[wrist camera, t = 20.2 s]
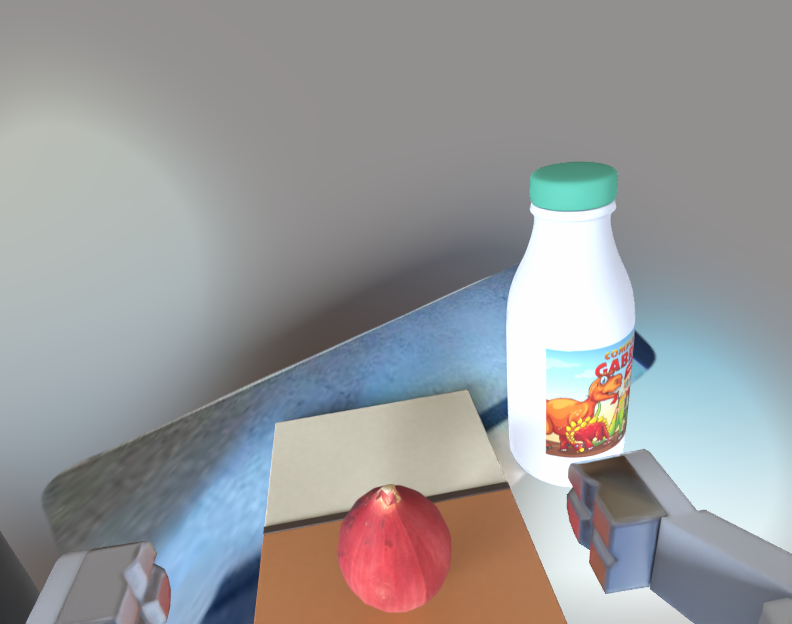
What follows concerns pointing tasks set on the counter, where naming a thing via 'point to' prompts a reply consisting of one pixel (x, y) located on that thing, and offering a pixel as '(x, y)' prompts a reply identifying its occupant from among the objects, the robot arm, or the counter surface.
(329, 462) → the sorting board
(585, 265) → the milk bottle
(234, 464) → the counter surface
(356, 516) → the onion
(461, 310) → the counter surface
